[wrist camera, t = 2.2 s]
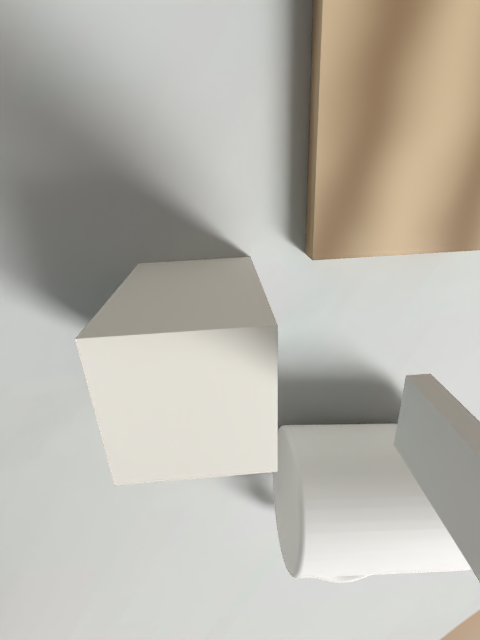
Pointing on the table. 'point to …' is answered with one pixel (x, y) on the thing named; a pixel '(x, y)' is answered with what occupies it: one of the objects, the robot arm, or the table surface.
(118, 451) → the carton
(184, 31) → the table surface
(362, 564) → the mug
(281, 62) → the table surface
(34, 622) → the table surface
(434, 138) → the shelf board
